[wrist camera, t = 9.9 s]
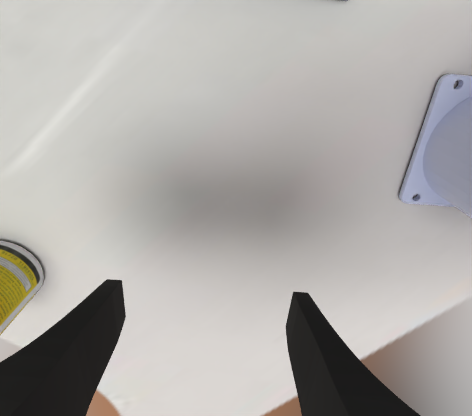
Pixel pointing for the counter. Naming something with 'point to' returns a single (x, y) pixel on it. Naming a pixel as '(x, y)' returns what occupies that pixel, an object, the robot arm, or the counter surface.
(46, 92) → the counter surface
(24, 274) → the supplement bottle
